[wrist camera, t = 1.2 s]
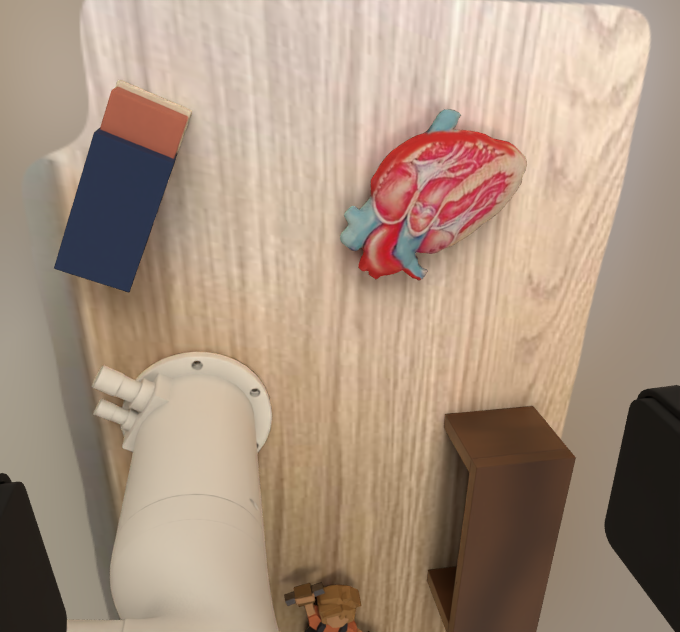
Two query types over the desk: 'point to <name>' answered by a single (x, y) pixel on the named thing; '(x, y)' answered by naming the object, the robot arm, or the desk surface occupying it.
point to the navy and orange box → (122, 186)
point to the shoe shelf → (504, 520)
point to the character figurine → (327, 606)
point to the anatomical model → (431, 196)
